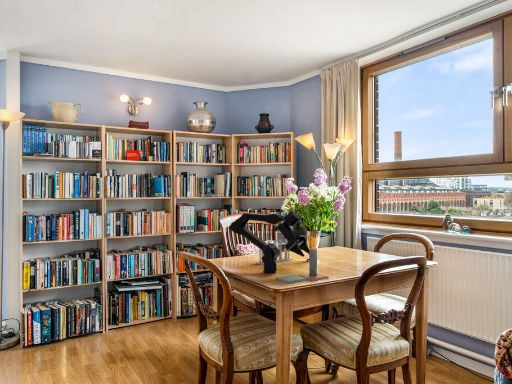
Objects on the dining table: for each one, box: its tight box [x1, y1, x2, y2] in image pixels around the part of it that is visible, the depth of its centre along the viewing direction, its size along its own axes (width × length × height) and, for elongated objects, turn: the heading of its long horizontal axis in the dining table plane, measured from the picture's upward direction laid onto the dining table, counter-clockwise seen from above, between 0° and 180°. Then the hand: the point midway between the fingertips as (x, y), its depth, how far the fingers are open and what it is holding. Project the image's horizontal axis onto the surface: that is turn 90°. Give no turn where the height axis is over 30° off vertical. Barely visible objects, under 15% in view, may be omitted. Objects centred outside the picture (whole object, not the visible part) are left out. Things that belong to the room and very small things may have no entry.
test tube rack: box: [255, 239, 293, 265], centre depth 247 cm, size 25×4×13 cm, turn 124°
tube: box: [308, 247, 318, 276], centre depth 204 cm, size 4×4×14 cm
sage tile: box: [275, 274, 307, 284], centre depth 199 cm, size 11×11×1 cm
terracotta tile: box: [297, 272, 330, 282], centre depth 204 cm, size 11×11×1 cm
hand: (307, 254), depth 205 cm, fingers open, 9 cm apart
